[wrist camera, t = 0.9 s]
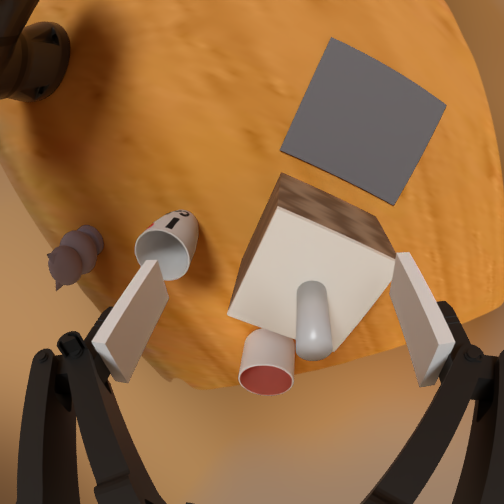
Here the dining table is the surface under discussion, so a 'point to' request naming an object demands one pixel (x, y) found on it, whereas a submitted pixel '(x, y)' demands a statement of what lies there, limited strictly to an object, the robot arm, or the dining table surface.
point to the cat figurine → (75, 255)
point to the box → (316, 219)
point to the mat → (363, 122)
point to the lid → (310, 284)
